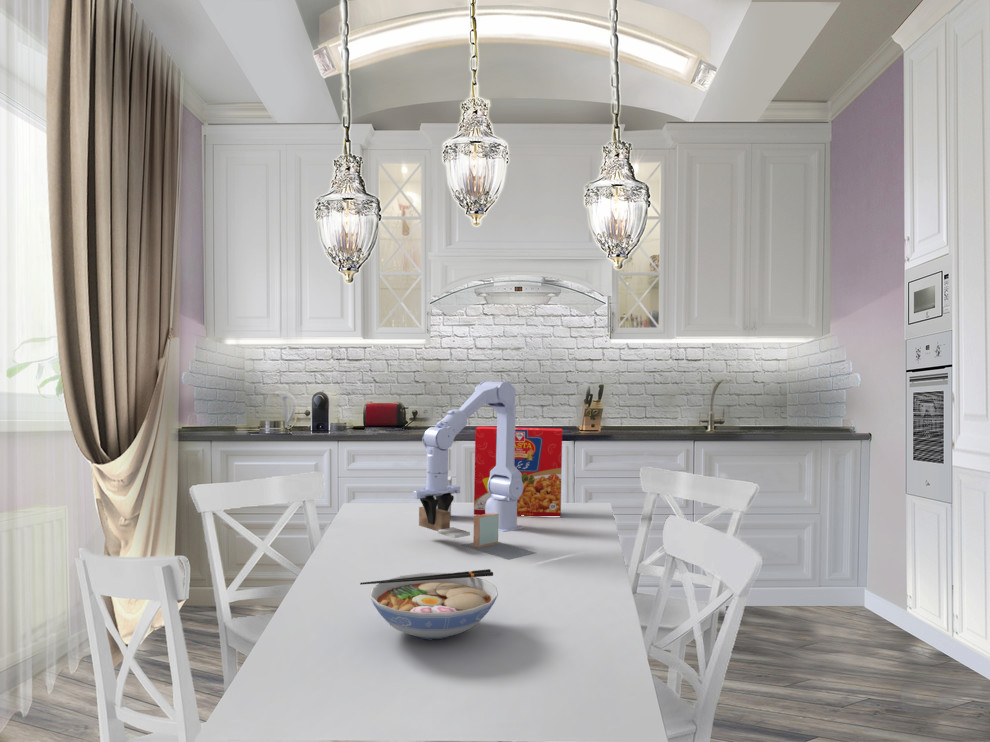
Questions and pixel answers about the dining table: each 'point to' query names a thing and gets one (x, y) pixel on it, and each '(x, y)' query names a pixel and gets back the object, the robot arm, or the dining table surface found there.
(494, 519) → the tile
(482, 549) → the mat
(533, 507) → the pasta box
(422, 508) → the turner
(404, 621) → the ramen bowl
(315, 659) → the dining table surface
